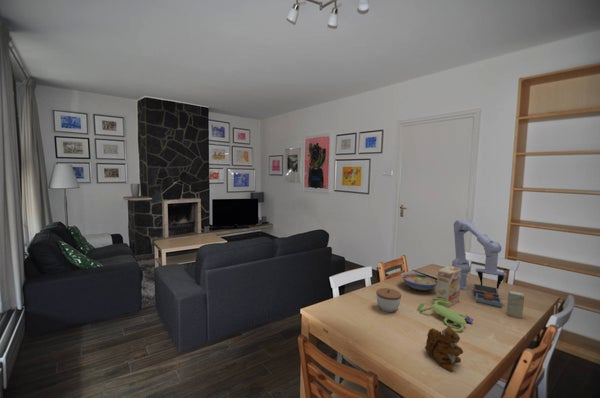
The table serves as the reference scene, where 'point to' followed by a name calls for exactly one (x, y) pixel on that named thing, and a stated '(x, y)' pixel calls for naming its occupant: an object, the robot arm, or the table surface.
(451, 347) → the stuffed squirrel
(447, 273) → the coffeecake box
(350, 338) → the table surface
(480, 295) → the tray
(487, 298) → the ball
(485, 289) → the grey square frame
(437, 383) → the table surface
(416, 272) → the ramen bowl
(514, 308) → the skincare box
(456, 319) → the figurine
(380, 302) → the lidded bowl
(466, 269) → the robot arm
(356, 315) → the table surface
